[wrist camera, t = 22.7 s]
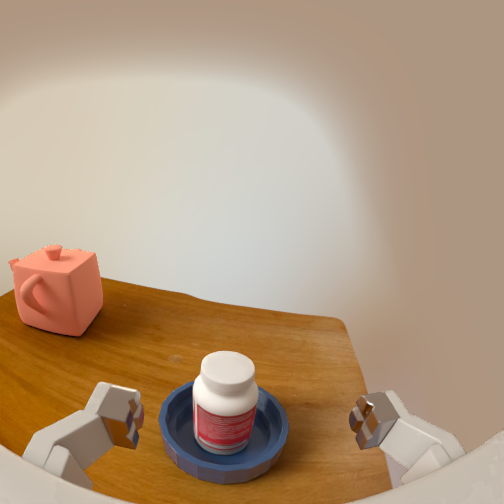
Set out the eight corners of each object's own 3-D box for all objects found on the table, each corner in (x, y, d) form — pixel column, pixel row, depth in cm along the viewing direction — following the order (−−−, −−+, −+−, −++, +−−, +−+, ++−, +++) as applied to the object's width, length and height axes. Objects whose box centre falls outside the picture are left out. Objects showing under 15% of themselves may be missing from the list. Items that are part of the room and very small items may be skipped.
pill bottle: (259, 446, 24) (277, 378, 21) (207, 463, 21) (209, 397, 18) (233, 411, 29) (242, 340, 26) (186, 423, 26) (183, 351, 23)
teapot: (113, 297, 53) (110, 234, 49) (71, 357, 32) (54, 272, 28) (43, 286, 50) (37, 229, 46) (-9, 332, 29) (-27, 258, 25)
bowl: (273, 399, 32) (278, 379, 31) (289, 484, 19) (299, 469, 18) (171, 392, 31) (170, 371, 30) (155, 478, 18) (148, 461, 17)
